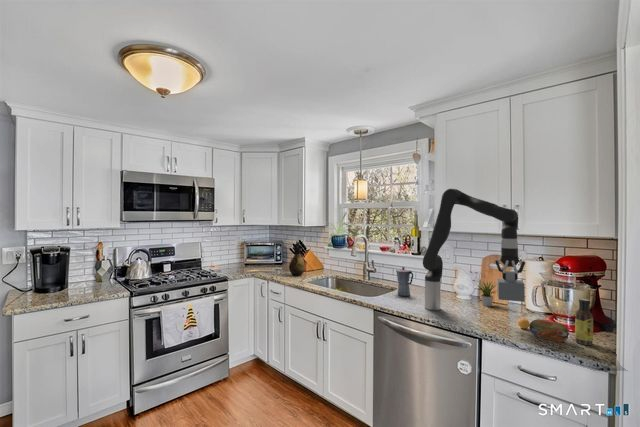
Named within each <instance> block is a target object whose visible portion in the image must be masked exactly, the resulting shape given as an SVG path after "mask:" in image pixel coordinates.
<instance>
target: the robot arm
mask: <svg viewBox="0 0 640 427" xmlns="http://www.w3.org/2000/svg"><path fill="white" fill-rule="evenodd" d="M455 205H458V206H459V205H460V206H465V207H467V208H470V209H472V210H473V211H475V212H476V213H477V212H478V213H480V214H482V215H485V216H488V217H491V218H494V219H496V220H498V221H501V222H503V225H502V226H503V227H501V241H500V247H501V248H500V251H501V254H500V255H501V257H500V259H495V260H494V262H495V264H496V267H497V270H498V271H499V272H500V273H502V279H504V280H506V273H505V272H506V271H507V268H512V269H513V271H514V272H515V281H516V280H519V276H518V275H519V274H520V273H523V270H524V268H525V266H526V262H525V261H524V260H520V259H519V242H518V231H517V230H518V224H519V214H518V212H517V211H516V210H515V209H511V208H506V207H502V206H500V205H498V204H496V203H493V202H490V201H486V200H483V199H480V198H476V197H473V196H472V195H470V194H467V193H464V192H463V191H461V190H459V189H457V188H447V189H445V190H444V191H443V193H442V195H441V200H440V206H439V210H438V214H437V216H436V219H435V220H436V221H435V223H434V226H433V229H432V234H431V236H430V240H429V242H428V246H427V248H426V251H425V253H424V256H423V258H422V266H423V268H424V269H425V270H426V271H427V273H426V274H425V276H424V308H425V309H426V310H430V311H440V310H441V304H442V303H441V300H442V299H441V294H442V293H441V292H442V289H441V288H442V287H441V286H442V285H441V284H442V280H441V279H442V277H443V269H444V267H443V265H444V264H443V258H442V257H441V256H440V255H439V252H440V249H441V248H442V247H443V246H444V244H445V243H446V242H447V240H448V238H449V235H450V232H451V229H452V212H453V209H454V206H455ZM501 263H502V264H503V267H502V268H501V265H500V264H501ZM518 264H519V265H520V266H519V269H517V265H518Z"/></svg>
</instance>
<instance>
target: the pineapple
mask: <svg viewBox="0 0 640 427" xmlns="http://www.w3.org/2000/svg"><path fill="white" fill-rule="evenodd" d="M301 250H303V245H300V244H299V243H295V244H294V246H293V251H294V252H293V253H294V254H293V256H292V258H291V260H290V262H289V265H288V269H289V272H290V273H291V276H292V277H302V275H303V274H304V272H305V271H306V263H305V260H304V258H303V256H302V255H301V253H300V252H301Z"/></svg>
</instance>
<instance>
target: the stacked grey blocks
mask: <svg viewBox="0 0 640 427" xmlns="http://www.w3.org/2000/svg"><path fill="white" fill-rule="evenodd" d="M505 273H506V280H504V279H503V278H496V284H497V285H496V288H497V289H496V296H497V298H498V301H499V300H500V301H501V300H502V301H511V302H512V301H513V302H519V303H520V302H524V303H525V302H526V301H525V300H526V297H525V296H526V294H525V291H526V290H525V283H524V281H522V280H521V279H517V280H516V281H515V272H514V270H506V272H505Z"/></svg>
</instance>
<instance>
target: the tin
mask: <svg viewBox="0 0 640 427" xmlns="http://www.w3.org/2000/svg"><path fill="white" fill-rule="evenodd" d="M529 323H530V325H529V327H528V328H529V331H530V333H531V334H532V335H533V336H534V337H537V338H539V339H543V340H548V341H552V342H556V343H557V342H558V343H564V342H566V341H567V340H568V338H569V336H570V332H569V329H568V328H567V327H566V326H565V325H564V324H563V323H560V322H555V321H550V320H544V319H540V318H538V319H534V320H532V321H530V322H529Z"/></svg>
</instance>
